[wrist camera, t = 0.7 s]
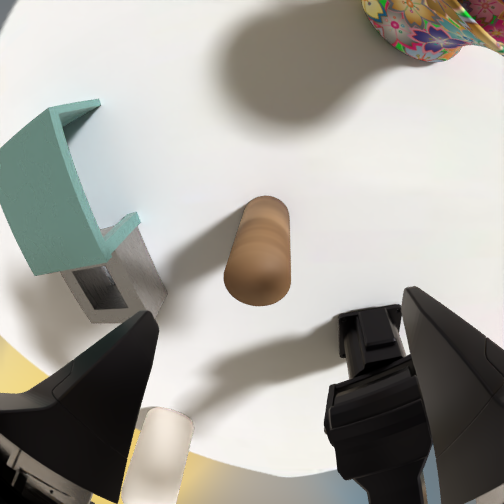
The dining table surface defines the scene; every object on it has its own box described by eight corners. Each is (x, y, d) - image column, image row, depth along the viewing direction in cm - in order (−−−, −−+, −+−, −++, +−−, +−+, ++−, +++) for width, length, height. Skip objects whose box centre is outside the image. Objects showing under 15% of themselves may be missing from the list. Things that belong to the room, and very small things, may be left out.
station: (172, 293, 27) (150, 338, 21) (99, 299, 29) (73, 336, 23) (99, 98, 17) (48, 107, 12) (29, 143, 19) (-14, 162, 14)
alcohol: (161, 424, 46) (125, 551, 20) (140, 403, 42) (93, 545, 16) (202, 429, 44) (171, 567, 19) (183, 408, 40) (142, 568, 14)
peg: (292, 234, 22) (295, 302, 15) (249, 240, 23) (233, 309, 16) (284, 192, 20) (284, 246, 13) (238, 200, 21) (215, 257, 14)
